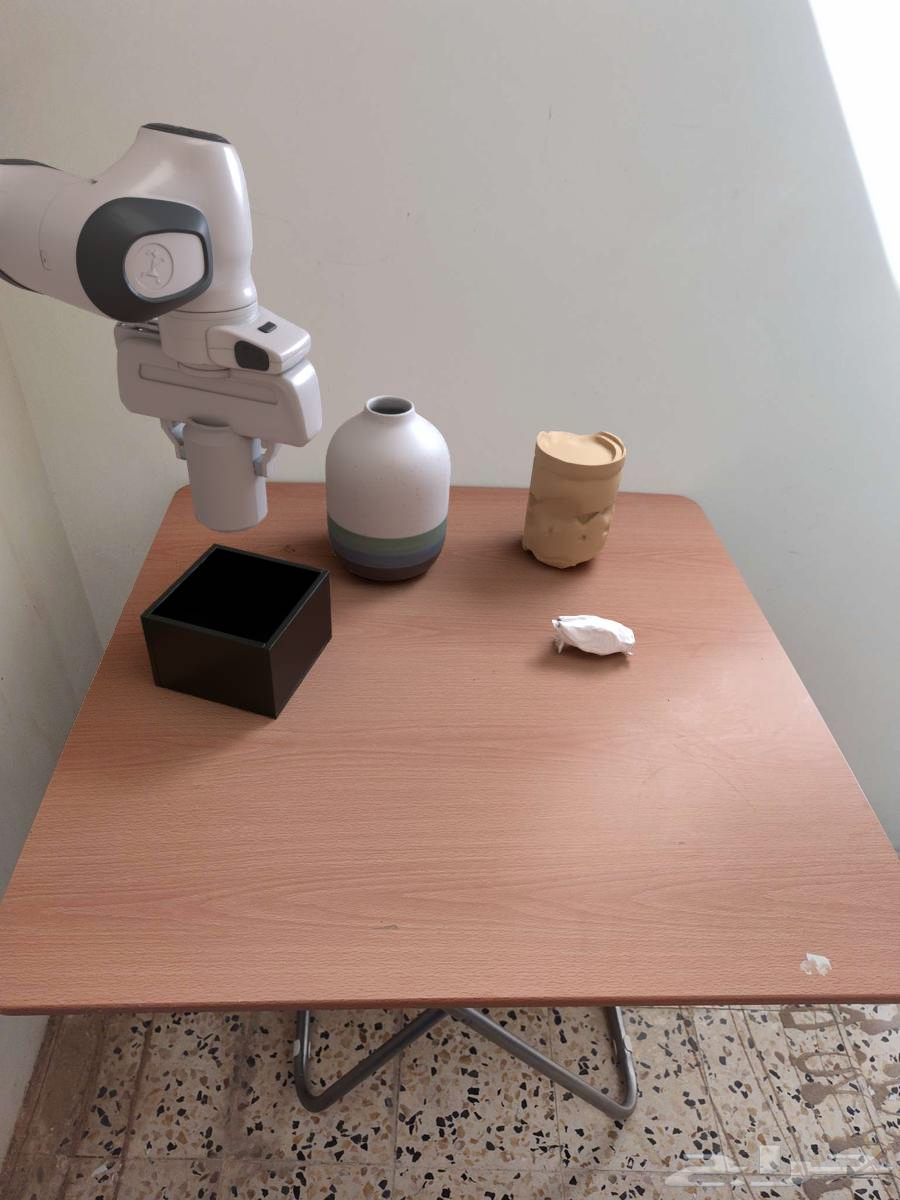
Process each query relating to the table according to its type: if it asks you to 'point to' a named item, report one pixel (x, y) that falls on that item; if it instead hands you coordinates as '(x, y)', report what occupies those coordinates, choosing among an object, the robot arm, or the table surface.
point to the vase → (387, 491)
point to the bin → (239, 629)
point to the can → (224, 478)
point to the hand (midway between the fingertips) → (226, 466)
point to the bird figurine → (593, 634)
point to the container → (572, 495)
